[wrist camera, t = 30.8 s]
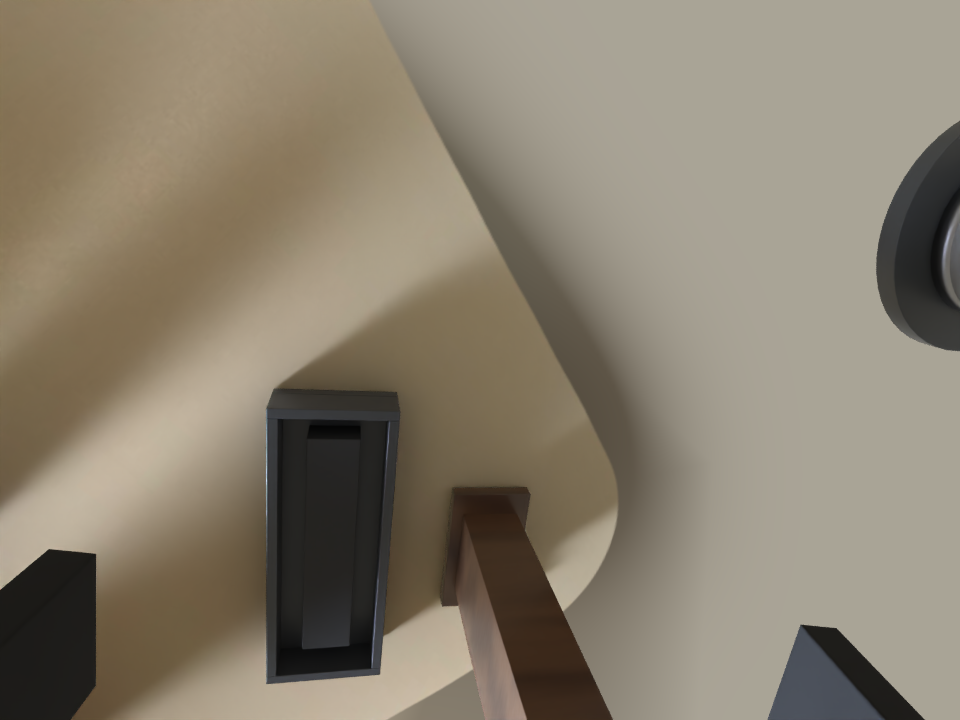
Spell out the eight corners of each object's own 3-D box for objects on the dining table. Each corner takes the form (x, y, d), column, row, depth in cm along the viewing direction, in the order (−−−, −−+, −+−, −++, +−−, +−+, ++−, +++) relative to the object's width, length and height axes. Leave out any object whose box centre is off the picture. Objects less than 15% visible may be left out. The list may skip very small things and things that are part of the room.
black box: (309, 424, 44) (306, 438, 42) (360, 425, 45) (361, 439, 43) (304, 627, 50) (301, 649, 48) (350, 624, 51) (349, 646, 49)
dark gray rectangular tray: (273, 388, 44) (266, 408, 40) (396, 392, 46) (400, 411, 42) (272, 647, 51) (266, 684, 48) (378, 639, 54) (380, 674, 50)
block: (450, 477, 49) (558, 829, 23) (531, 477, 51) (716, 804, 25) (436, 606, 54) (513, 1029, 27) (511, 602, 55) (651, 995, 29)
